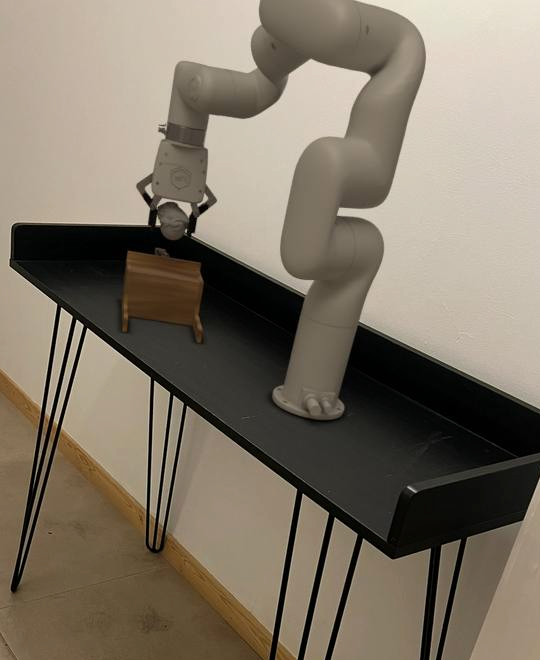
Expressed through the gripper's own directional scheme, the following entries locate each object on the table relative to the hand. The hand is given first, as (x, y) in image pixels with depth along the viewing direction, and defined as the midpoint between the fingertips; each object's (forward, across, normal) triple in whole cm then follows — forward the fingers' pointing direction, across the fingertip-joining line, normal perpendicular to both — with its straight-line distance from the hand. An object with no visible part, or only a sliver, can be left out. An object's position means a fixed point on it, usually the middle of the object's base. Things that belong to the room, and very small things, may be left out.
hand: (170, 232), depth 166 cm
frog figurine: (+1, 0, 0) cm, 1 cm away
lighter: (+17, 0, +13) cm, 22 cm away
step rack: (+17, 0, -5) cm, 17 cm away
